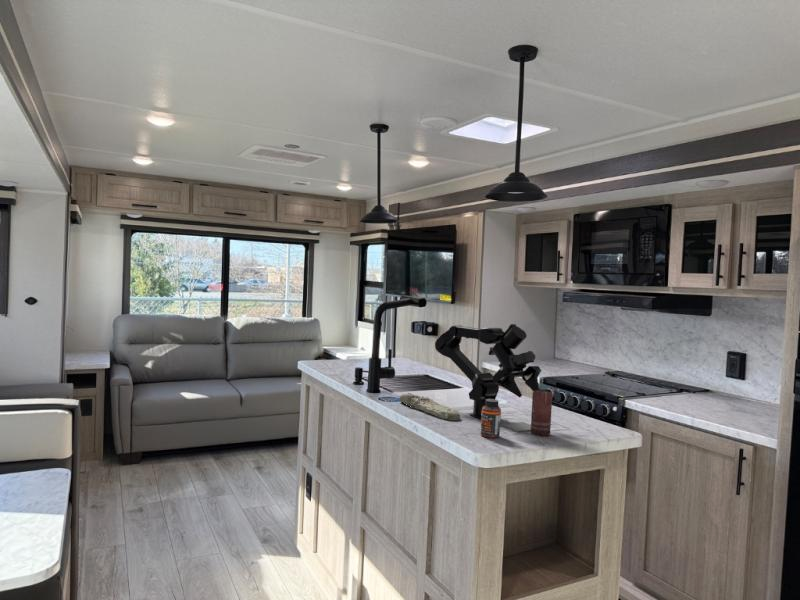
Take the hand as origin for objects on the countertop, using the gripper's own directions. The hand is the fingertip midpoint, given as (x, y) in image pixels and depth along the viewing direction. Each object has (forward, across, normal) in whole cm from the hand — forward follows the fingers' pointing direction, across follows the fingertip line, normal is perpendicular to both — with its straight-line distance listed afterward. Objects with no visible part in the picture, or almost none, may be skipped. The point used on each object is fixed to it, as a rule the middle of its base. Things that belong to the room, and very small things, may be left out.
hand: (530, 395), depth 187 cm
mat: (+5, +1, +11) cm, 12 cm away
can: (+12, 0, +5) cm, 13 cm away
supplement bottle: (+8, -17, +9) cm, 21 cm away
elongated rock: (-19, -11, +36) cm, 42 cm away
